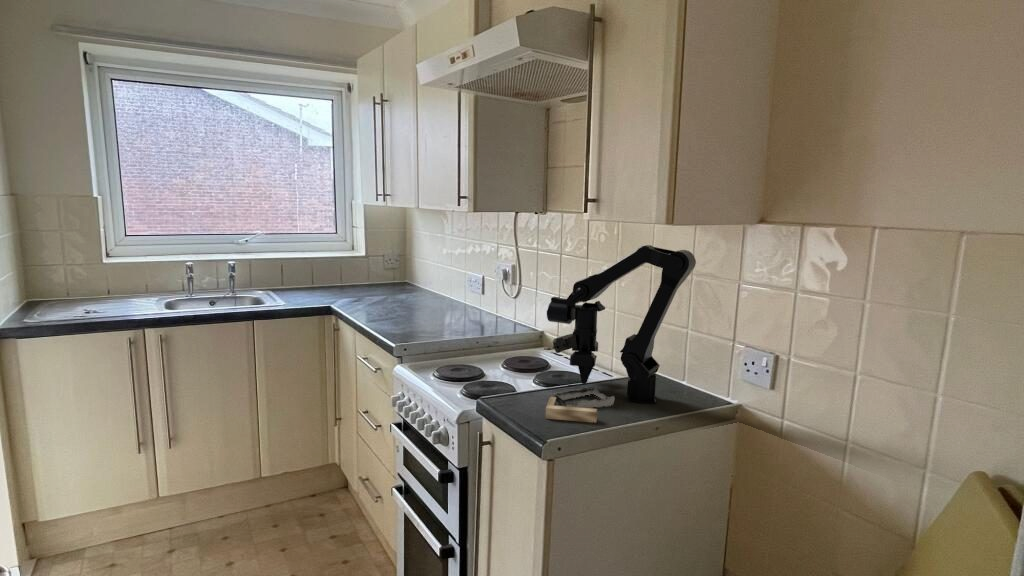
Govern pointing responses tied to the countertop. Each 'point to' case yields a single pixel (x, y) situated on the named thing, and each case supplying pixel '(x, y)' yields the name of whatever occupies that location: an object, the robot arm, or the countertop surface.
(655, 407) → the countertop surface
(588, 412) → the oak fence
